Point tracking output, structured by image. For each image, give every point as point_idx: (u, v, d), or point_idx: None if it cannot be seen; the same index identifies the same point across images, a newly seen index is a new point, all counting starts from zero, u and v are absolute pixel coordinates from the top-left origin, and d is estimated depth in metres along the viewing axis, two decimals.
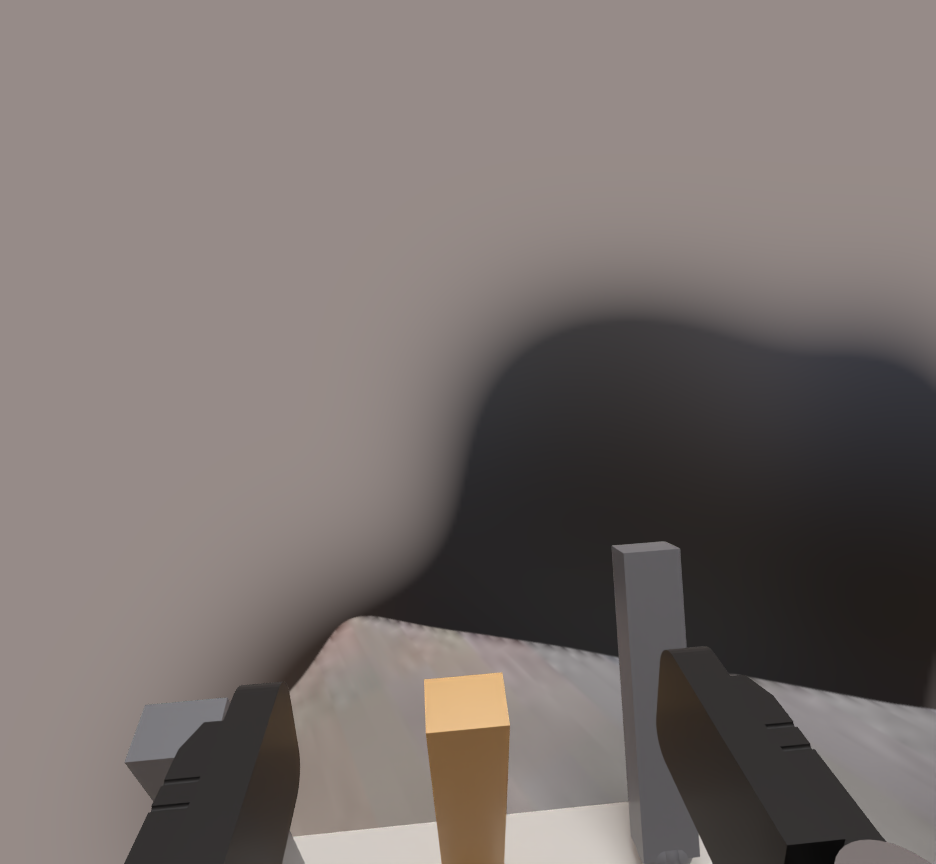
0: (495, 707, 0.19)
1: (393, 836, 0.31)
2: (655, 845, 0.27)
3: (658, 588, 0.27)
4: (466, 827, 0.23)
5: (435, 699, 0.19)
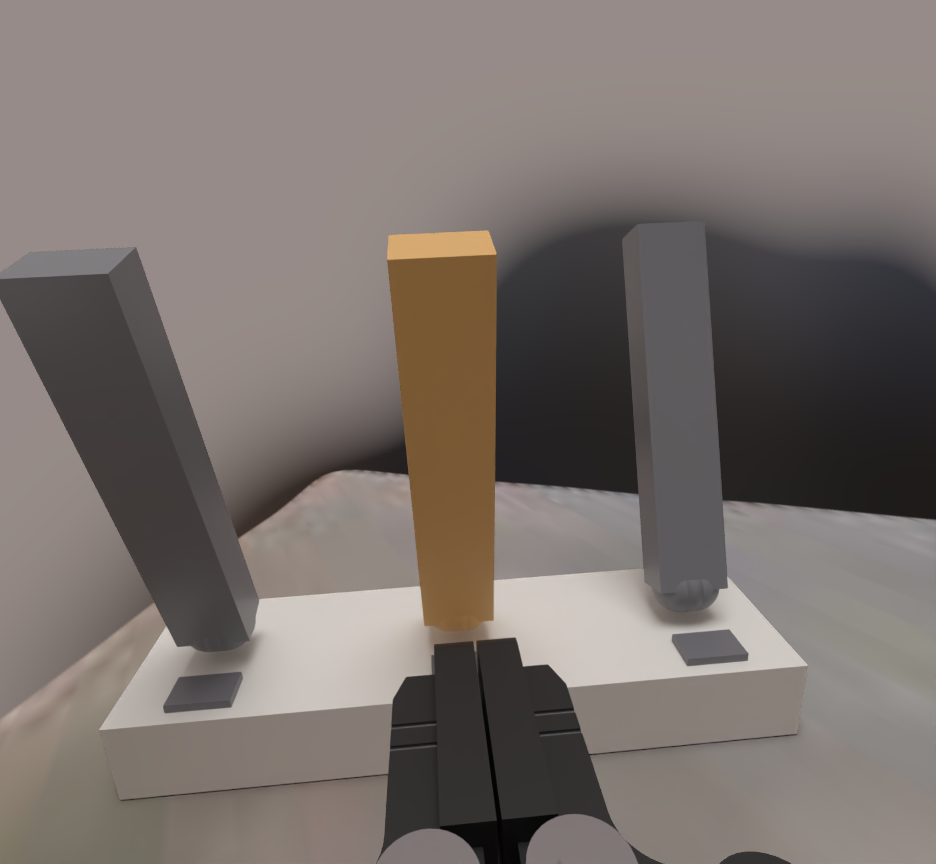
0: (478, 246, 0.15)
1: (367, 597, 0.26)
2: (674, 573, 0.23)
3: (678, 268, 0.23)
4: (446, 485, 0.19)
5: (401, 244, 0.15)
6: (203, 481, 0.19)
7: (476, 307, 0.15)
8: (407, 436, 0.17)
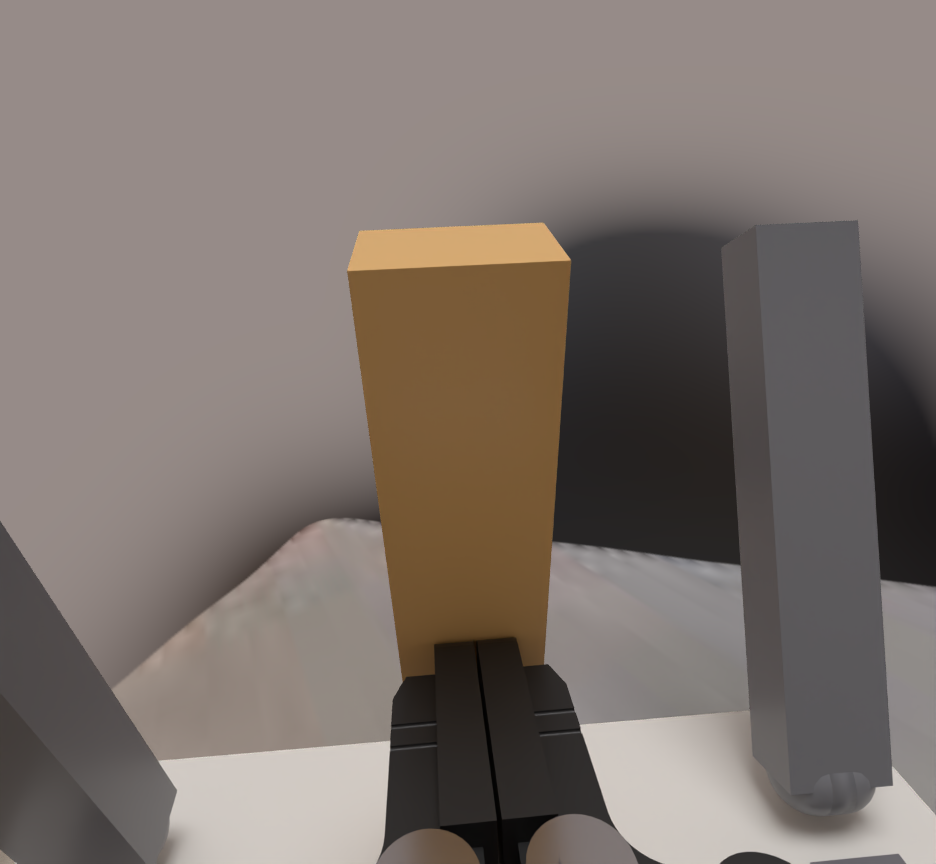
0: (531, 247, 0.08)
1: (344, 759, 0.18)
2: (811, 763, 0.15)
3: (818, 292, 0.15)
4: None
5: (381, 244, 0.08)
6: (44, 667, 0.11)
7: (525, 365, 0.08)
8: (394, 587, 0.10)
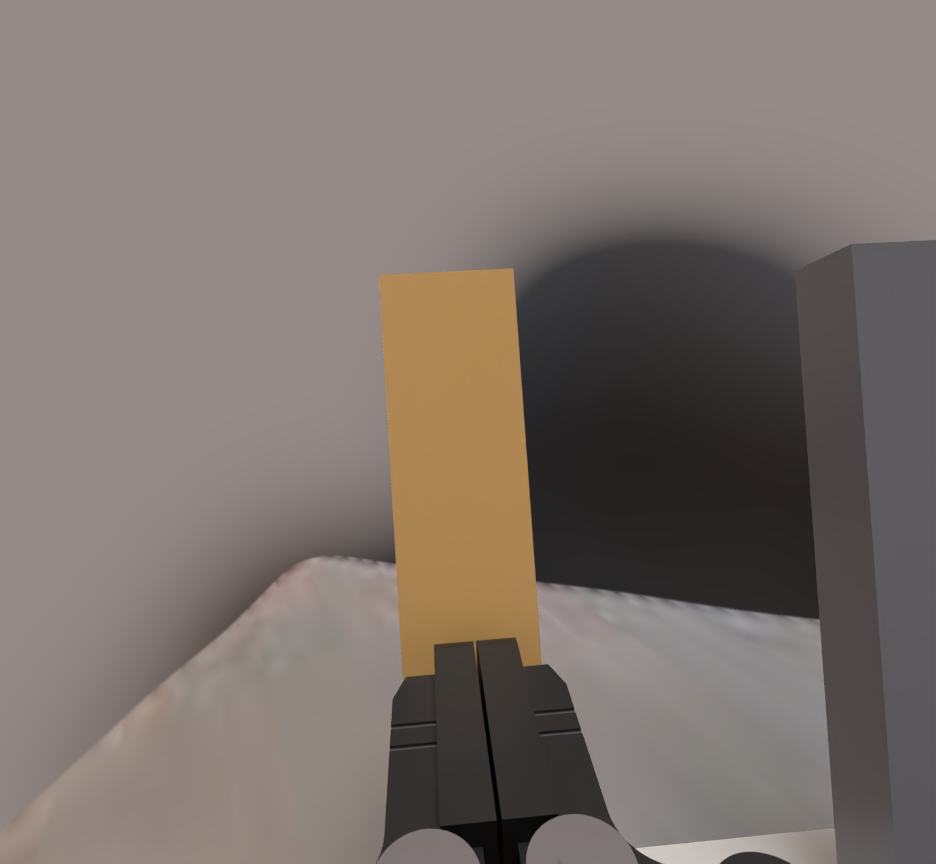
0: None
1: None
2: None
3: (932, 330, 0.12)
4: None
5: None
6: None
7: (492, 337, 0.12)
8: (398, 546, 0.11)
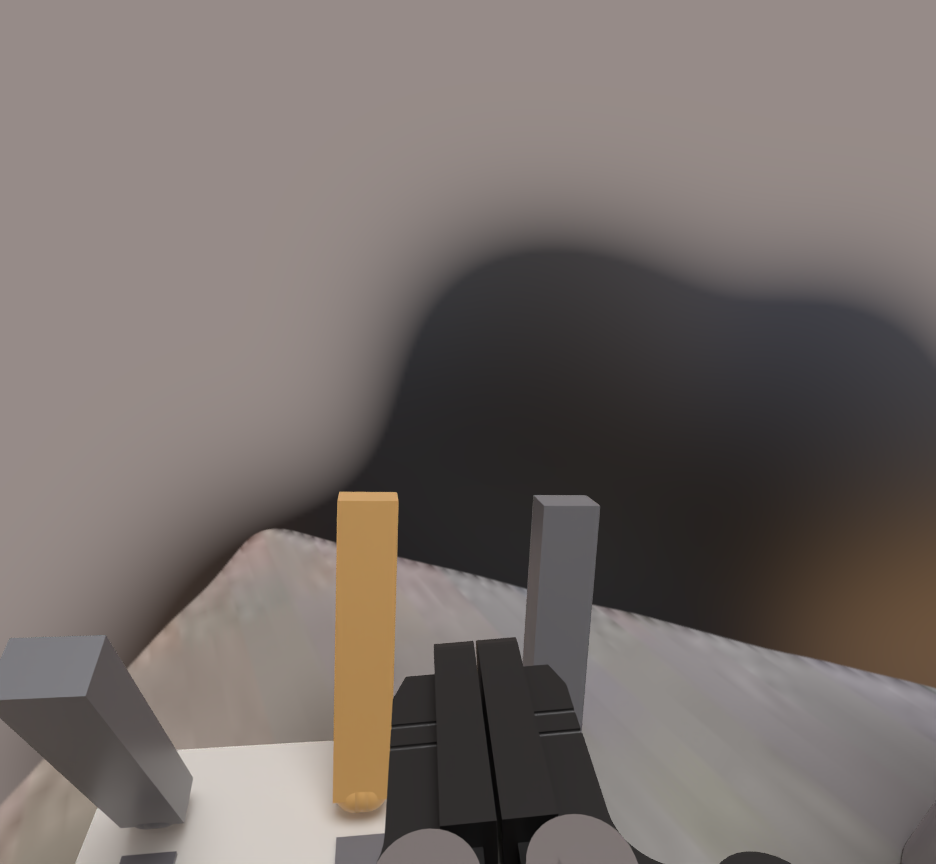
0: (389, 497, 0.27)
1: (287, 753, 0.31)
2: None
3: (573, 543, 0.27)
4: (360, 658, 0.27)
5: (346, 495, 0.27)
6: (152, 748, 0.22)
7: (386, 530, 0.26)
8: (337, 617, 0.26)
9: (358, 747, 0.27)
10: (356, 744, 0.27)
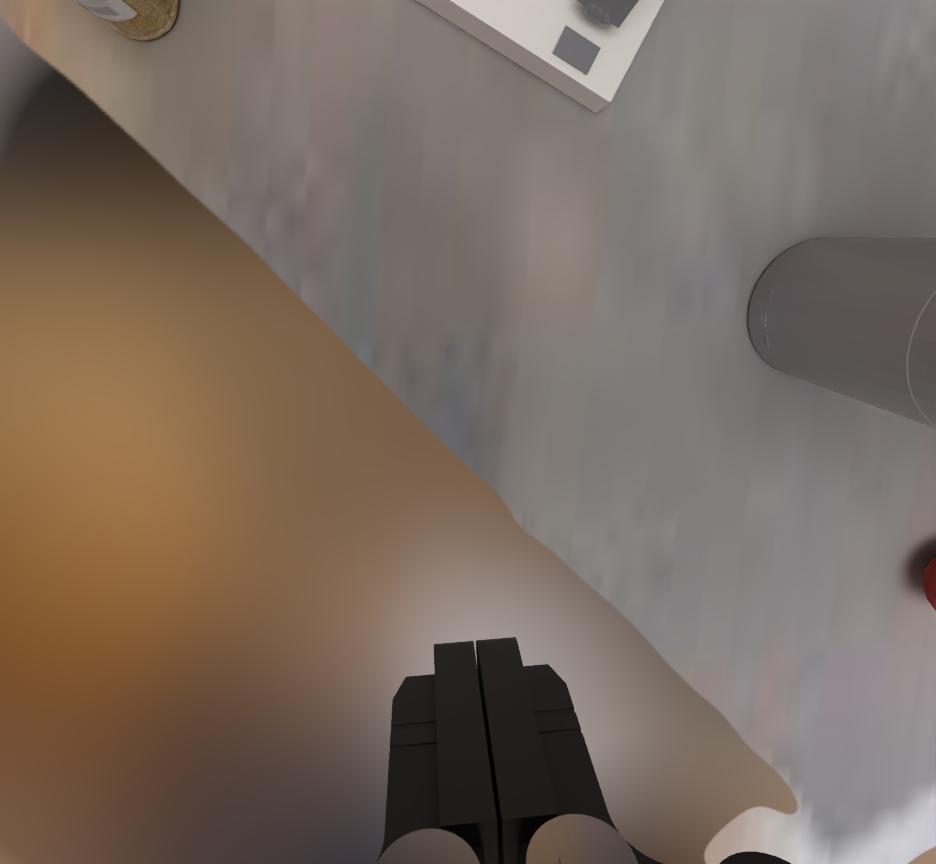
0: None
1: None
2: None
3: None
4: None
5: None
6: None
7: None
8: None
9: None
10: None
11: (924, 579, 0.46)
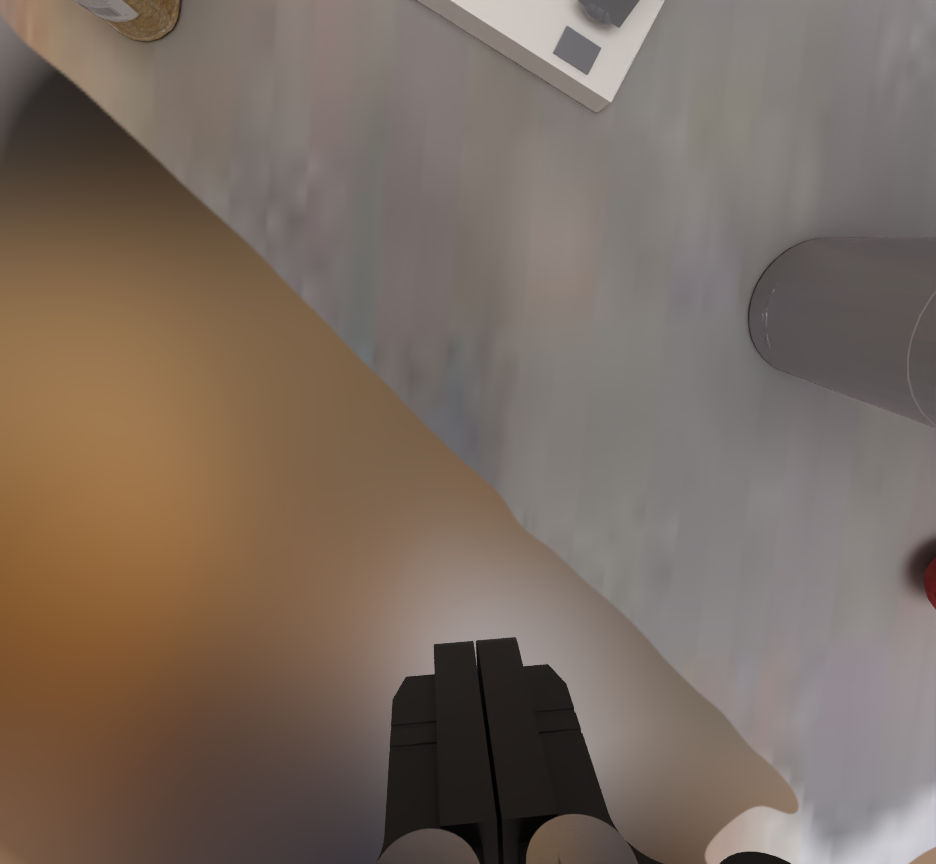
0: None
1: None
2: None
3: None
4: None
5: None
6: None
7: None
8: None
9: None
10: None
11: (925, 579, 0.46)
